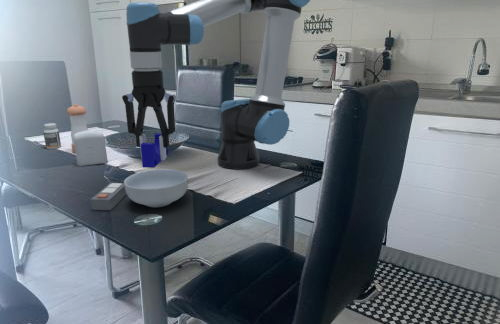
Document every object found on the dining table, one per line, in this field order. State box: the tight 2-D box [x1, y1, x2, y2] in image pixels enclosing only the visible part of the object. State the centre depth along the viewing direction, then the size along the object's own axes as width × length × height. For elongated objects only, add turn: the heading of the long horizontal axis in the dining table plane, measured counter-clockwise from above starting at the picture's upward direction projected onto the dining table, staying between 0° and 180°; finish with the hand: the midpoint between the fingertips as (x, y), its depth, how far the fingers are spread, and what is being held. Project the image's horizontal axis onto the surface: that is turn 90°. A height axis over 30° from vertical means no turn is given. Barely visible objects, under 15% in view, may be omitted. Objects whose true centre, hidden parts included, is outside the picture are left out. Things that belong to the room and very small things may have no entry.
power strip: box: [90, 182, 127, 211], centre depth 106 cm, size 5×15×4 cm, turn 176°
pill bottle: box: [42, 122, 62, 150], centre depth 159 cm, size 6×6×10 cm
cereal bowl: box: [123, 168, 189, 208], centre depth 104 cm, size 17×17×7 cm
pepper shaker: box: [66, 103, 89, 154], centre depth 151 cm, size 7×7×19 cm
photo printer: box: [74, 129, 109, 167], centre depth 136 cm, size 10×4×12 cm, turn 110°
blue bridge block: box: [140, 132, 169, 169], centre depth 101 cm, size 12×4×6 cm, turn 175°
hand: (154, 158), depth 102 cm, fingers closed on blue bridge block, 5 cm apart
